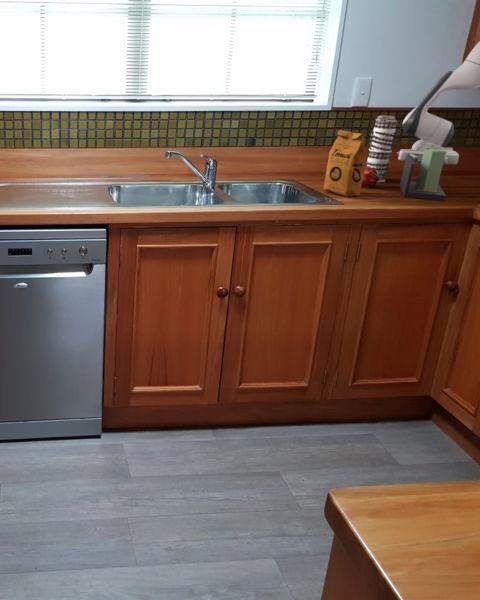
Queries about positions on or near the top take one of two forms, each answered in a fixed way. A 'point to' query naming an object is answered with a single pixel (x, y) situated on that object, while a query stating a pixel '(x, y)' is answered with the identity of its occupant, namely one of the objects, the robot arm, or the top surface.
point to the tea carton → (430, 169)
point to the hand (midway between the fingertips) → (429, 159)
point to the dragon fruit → (369, 177)
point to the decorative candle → (381, 145)
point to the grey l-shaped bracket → (409, 185)
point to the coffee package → (346, 164)
